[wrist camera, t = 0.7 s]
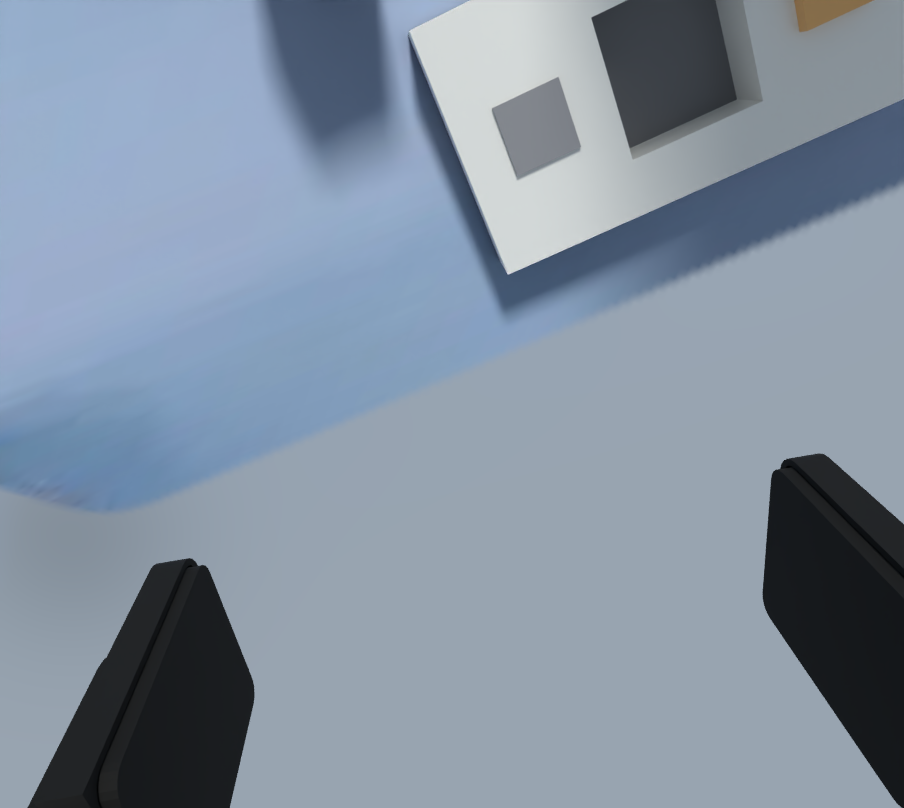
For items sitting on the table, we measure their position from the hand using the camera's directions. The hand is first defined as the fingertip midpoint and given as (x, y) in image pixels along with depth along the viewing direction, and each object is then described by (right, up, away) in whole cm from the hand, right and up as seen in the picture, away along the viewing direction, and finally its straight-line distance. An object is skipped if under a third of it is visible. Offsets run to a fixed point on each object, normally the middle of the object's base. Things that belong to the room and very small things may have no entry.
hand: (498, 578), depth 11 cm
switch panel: (+9, +19, +20) cm, 29 cm away
